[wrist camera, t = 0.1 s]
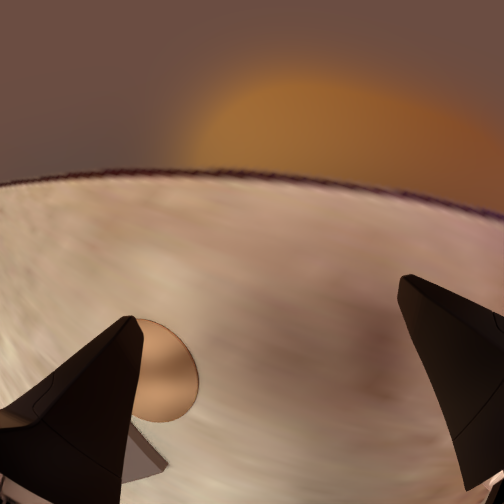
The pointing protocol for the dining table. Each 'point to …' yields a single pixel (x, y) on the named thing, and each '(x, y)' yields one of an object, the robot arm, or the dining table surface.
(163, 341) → the cork coaster
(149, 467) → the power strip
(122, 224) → the dining table surface
